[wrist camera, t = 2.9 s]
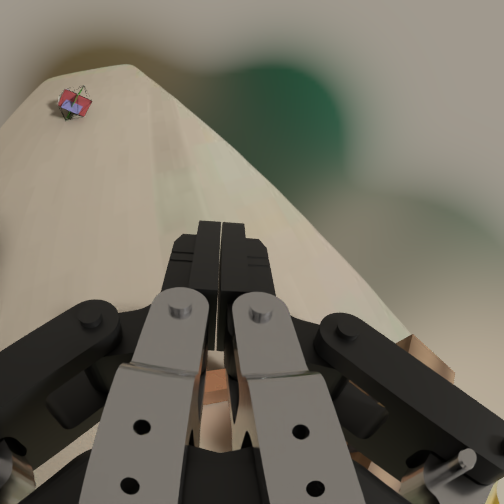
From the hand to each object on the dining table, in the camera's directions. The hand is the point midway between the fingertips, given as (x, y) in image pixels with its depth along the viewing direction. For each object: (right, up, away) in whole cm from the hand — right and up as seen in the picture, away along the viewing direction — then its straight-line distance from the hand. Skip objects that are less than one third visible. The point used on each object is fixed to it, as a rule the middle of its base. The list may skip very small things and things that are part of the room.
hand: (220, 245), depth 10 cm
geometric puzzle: (-35, +27, +38) cm, 59 cm away
